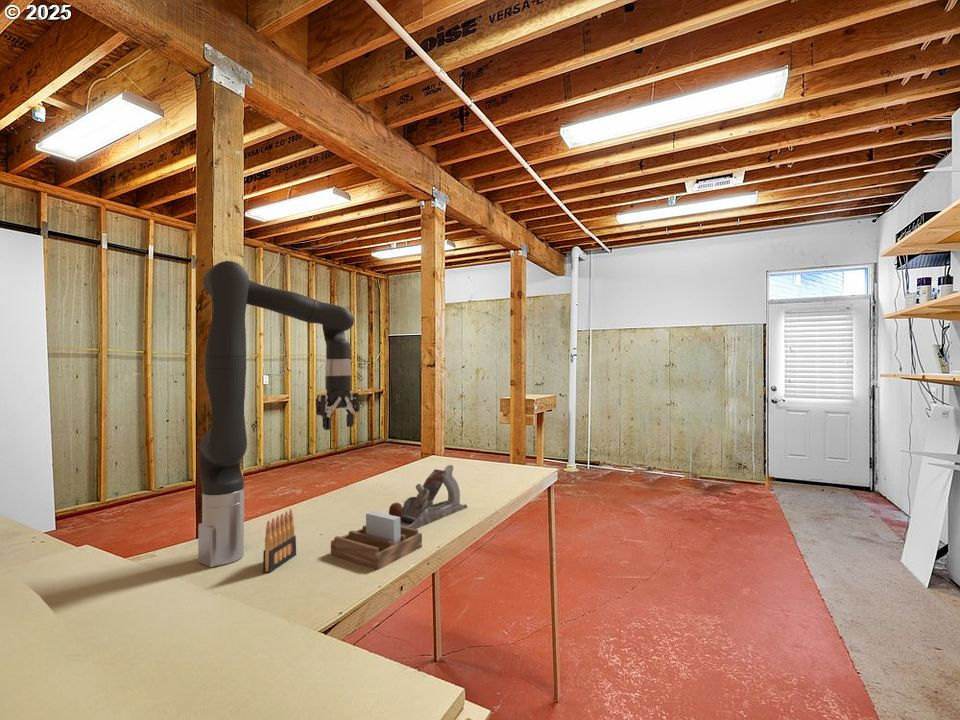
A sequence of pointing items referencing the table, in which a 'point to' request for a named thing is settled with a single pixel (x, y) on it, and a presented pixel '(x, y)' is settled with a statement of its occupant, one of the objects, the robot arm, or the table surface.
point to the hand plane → (429, 501)
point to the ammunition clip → (279, 542)
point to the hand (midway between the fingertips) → (338, 428)
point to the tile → (383, 526)
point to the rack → (375, 547)
